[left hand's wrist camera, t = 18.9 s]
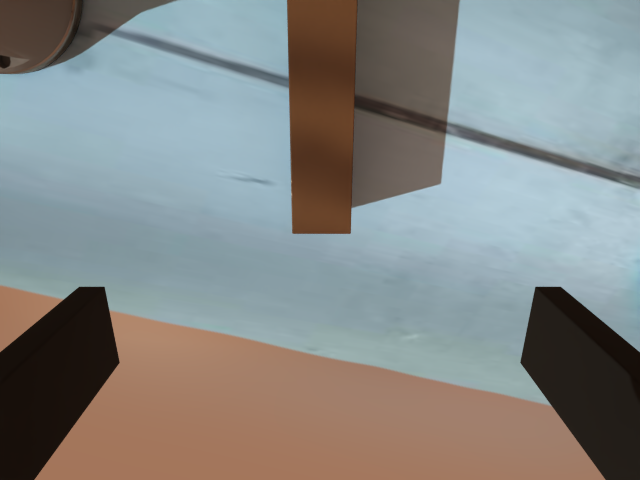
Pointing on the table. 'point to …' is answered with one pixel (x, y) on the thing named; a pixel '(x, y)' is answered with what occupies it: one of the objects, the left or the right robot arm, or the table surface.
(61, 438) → the left robot arm
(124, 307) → the table surface
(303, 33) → the bar
